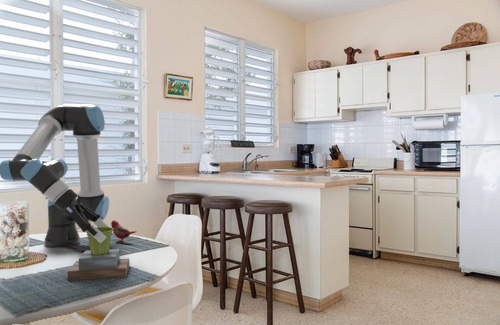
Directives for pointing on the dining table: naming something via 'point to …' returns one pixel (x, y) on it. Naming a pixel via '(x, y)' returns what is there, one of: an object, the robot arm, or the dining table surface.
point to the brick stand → (99, 266)
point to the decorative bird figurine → (120, 231)
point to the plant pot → (104, 246)
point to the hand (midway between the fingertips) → (106, 236)
